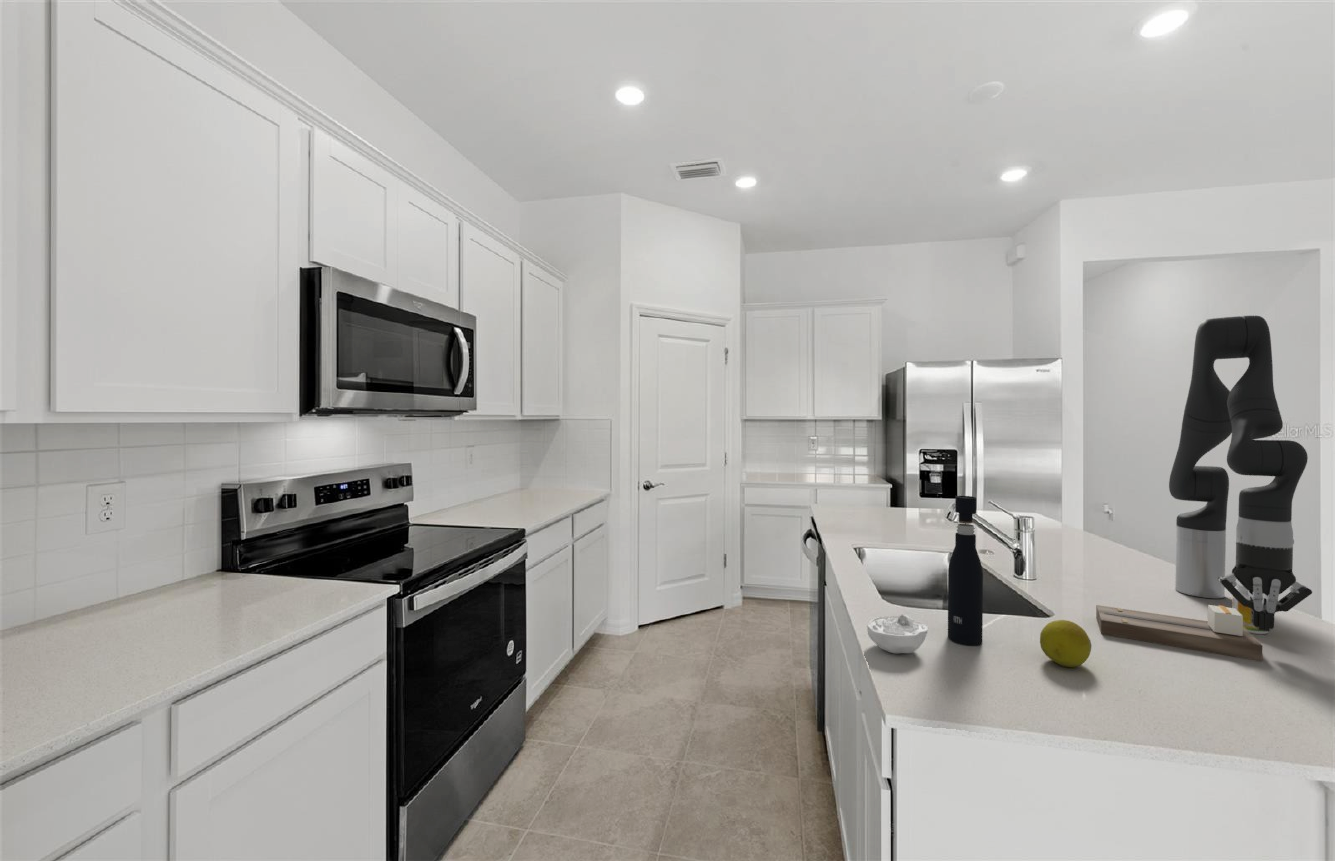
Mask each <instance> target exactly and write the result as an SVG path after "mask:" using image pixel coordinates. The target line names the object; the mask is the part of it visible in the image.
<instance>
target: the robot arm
mask: <svg viewBox="0 0 1335 861" xmlns="http://www.w3.org/2000/svg"><path fill="white" fill-rule="evenodd" d="M1270 332H1271V331H1270V328H1269V324H1268V322H1267V321H1266V319H1265V317H1262V316H1260V315H1241V316H1239V315H1238V316H1226V317H1215V318H1207V319H1205V320H1203V321H1202V322H1200V323H1199V325H1198V328H1197V329H1196V334H1195V337H1194V338H1195V340H1194V346H1193V347H1194V350H1193V358H1192V359H1193V360H1192V369H1191V370H1192V371H1191V378H1190V385H1189V389H1188V394H1187V398H1186V401H1185V402H1186V403H1185V406H1184V410H1183V415H1182V416H1183V417H1182V422H1181V429H1180V430H1181V432H1180V438H1179V443H1178V448H1177V452H1176V455H1175V459H1174V462H1173V465H1172V468H1171V471H1170V475H1169V482H1168V483H1169V484H1168V489H1169V493H1170V496H1172V498H1174V499H1175V500H1179V501H1188V502H1202V503H1203V502H1204V503H1206V504H1205V506H1203V507H1201V508H1199V509H1195V510H1192V511H1189V512H1188V511H1187V512H1184V513H1180V514H1178V515H1177V516H1176V520H1175V521H1176V526H1175V528H1176V530H1175V531H1176V532H1175V533H1176V542H1175V543H1176V544H1175V581H1174V582H1175V584H1174V585H1175V587H1174V589H1175V590H1176V592H1179V593H1182V594H1185V595H1188V596H1193V597H1199V598H1205V599H1224V598H1225V592H1226V590H1227V591H1228V593H1229V594H1231V596H1232V597H1233V596H1234V597H1235V599H1236V600H1237V601H1238V602H1239V603H1241V604H1242V605H1243V606H1245V607H1249V608H1251V623H1252V624H1253V625H1254V626H1255V627H1256V628H1257V629H1258V630H1262V631H1268V633H1270V630H1273V629H1274V627H1275V614H1276V613H1278V612H1286V613H1287V612H1288V611H1290V610H1291V609H1293V608H1294V607H1296V606H1297V605H1298V604H1300V603H1301V602H1302V601H1304V600H1306V598H1308V597H1309V596H1310V595H1312V594H1313V591H1312V589H1310V588H1308V586H1306V585H1303V584H1301V583H1299V582H1298V581H1297V578H1296V576H1295V574H1294V573H1293V567H1294V566H1293V560H1294V556H1293V554H1294V553H1293V552H1294V544H1295V540H1294V529H1293V522H1292V519H1293V518H1292V515H1293V513H1292V511H1293V509H1292V508H1293V499H1294V495H1295V493H1296V492H1295V491H1296V489H1297V487H1298V485H1299V484H1298V483H1299V481H1300V479H1301V478H1302V475H1303V473H1304V471H1305V469H1306V467H1307V464H1308V458H1309V457H1308V453H1307V450H1306V449H1305V448H1304V446H1303V445H1302V444H1300V443H1299V442H1297V441H1294V440H1290V439H1289V440H1288V439H1287V440H1285V439H1284V440H1283V439H1281V440H1279V439H1278V440H1277V439H1275V440H1274V439H1271V440H1270V439H1269V440H1268V439H1263V438H1269V437H1272V436H1274V435H1277V434H1279V432H1281V431H1282V429H1283V428H1284V426H1283V425H1284V422H1283V418H1282V415H1281V411H1280V408H1279V404H1278V401H1277V397H1276V393H1275V388H1274V387H1275V386H1274V368H1273V366H1274V365H1273V354H1272V353H1273V352H1272V340H1271V339H1272V338H1271V333H1270ZM1244 358H1245V359H1248V363H1249V364H1248V367H1247V369H1246V370H1245V372H1244V373H1243V374H1242V376H1241V377H1240V378H1239V380H1238V381H1237V382H1236V383H1235V384H1234V385H1233V387H1232V388H1231V389H1230V390H1229V388H1228V387H1226V385H1225V384H1224V383H1223V381H1222V380H1221V378H1219V375H1218V374H1217V372H1216V370H1215V367H1214V365H1215V362H1216V360H1228V359H1232V360H1233V359H1244ZM1230 436H1231V438H1230V443H1229V447H1228V451H1227V455H1226V463H1227V465H1228V467H1229V468H1230V470H1231V471H1232V472H1234V473H1235V474H1238V475H1242V476H1251V477H1252V476H1256V477H1258V476H1259V477H1274V478H1273V480H1272V481H1271V482H1270V483H1268V484H1266V485H1263V486H1254V487H1247V488H1243V489H1242V490H1240V491H1239V495H1238V517H1237V518H1238V519H1237V523H1236V532H1235V534H1236V535H1235V536H1236V538H1235V539H1236V541H1235V565H1234V567H1233V568H1232V570H1231V573H1229V574H1227V575H1226V554H1227V553H1226V551H1227V550H1226V548H1227V547H1226V545H1227V542H1226V541H1227V539H1226V538H1227V533H1226V532H1227V519H1228V518H1227V514H1228V512H1227V511H1228V499H1229V493H1230V492H1229V490H1230V478H1229V474H1228V472H1227V470H1226V469H1225V468H1223V467H1220V466H1214V465H1213V466H1212V465H1211V466H1209V465H1208V466H1207V465H1205V466H1204V465H1197V463H1198V462H1199V460H1200V459H1201V458H1203V457H1204V455H1206V454H1207V453H1209V452H1210V451H1211V450H1213V449H1215V448H1216V447H1218V446H1219V445H1220V444H1221V443H1223V442H1224V441H1226V439H1228V438H1229V437H1230ZM1236 580H1237V581H1238V583H1241V584H1242V585H1243V586H1244V587H1245V588H1246V589H1247V590H1248V594H1249V599H1250V600H1248V599H1246V598H1245V597H1244V596H1243V595H1242V594H1241V593H1240V592H1239V591H1238V590H1237V584H1238V583H1237V581H1236ZM1288 589H1289V593H1287V594H1285V596H1283V597H1282V598H1280V599H1279V595H1281V594H1283V593H1284V592H1285V591H1287V590H1288ZM1262 600H1263V603H1262Z"/></svg>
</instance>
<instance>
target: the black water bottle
mask: <svg viewBox="0 0 1335 861" xmlns="http://www.w3.org/2000/svg"><path fill="white" fill-rule="evenodd" d="M954 500H955V510H954V511H955V513H957V514H958V522H959V523H957V525H956V532H955V533H954V534H955V536H954V538H955V543H954V544H955V545H954V548H953V550H952V553H951V556H950V559H949V564H948V569H947V572H948V573H947V638H948V640H950V641H951V642H953V643H956V644H958V645H961V646H968V647H969V646H970V647H975V646H980V645H982V644H983V615H984V614H983V612H984V611H983V609H984V607H983V604H984V597H983V592H984V589H983V588H984V580H983V579H984V573H983V568H982V562H981V558H980V556H979V553H978V550H977V547H976V546H977V545H976V544H977V539H976V537H977V535H976V534H975V525H974V524H973V522H974V521H973V515H975V514H977V496H971V495H956V496H955V499H954Z"/></svg>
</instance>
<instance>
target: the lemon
mask: <svg viewBox="0 0 1335 861" xmlns="http://www.w3.org/2000/svg"><path fill="white" fill-rule="evenodd" d="M1039 645H1040V648H1041V650H1042V652H1043V654H1044V655H1045V656H1047V657H1048V659H1050V660H1051V661H1053V662H1054V663H1056V664H1058V665H1059V666H1062V667H1066V668H1073V667H1074V668H1075V667H1079V666H1081V665H1083V664H1084V663H1085V662H1086V661H1088V658H1089V657H1090V655H1091V652H1092V643H1091V639H1090V637H1089V634H1087V632H1086V630H1085V629H1084V628H1082V626H1080V625H1078V624H1077V623H1076V622H1074V621H1071V620H1065V619H1057V620H1052V621H1051V622H1049V623H1047V624H1046V625H1045V626H1044V627H1043V628H1042V630H1041V632H1040V635H1039Z"/></svg>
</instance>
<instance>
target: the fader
mask: <svg viewBox="0 0 1335 861" xmlns="http://www.w3.org/2000/svg"><path fill="white" fill-rule="evenodd" d="M1207 621H1208V625H1209V626H1210V627H1211V629H1212V630H1213V631H1214V632H1218V633H1225V634H1231V635H1238V636H1243V616H1242V615H1241V614H1240V613H1239V612H1238V611H1237V610H1236V609H1235V608H1232V607H1227V606H1225V605H1220V604H1219V605H1214V604H1213V605H1212V604H1211V605H1210V604H1207Z"/></svg>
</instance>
